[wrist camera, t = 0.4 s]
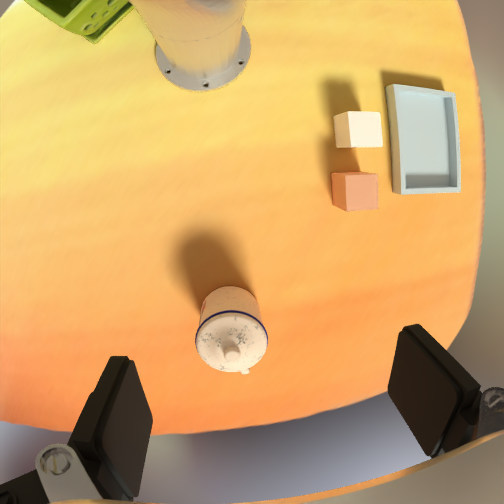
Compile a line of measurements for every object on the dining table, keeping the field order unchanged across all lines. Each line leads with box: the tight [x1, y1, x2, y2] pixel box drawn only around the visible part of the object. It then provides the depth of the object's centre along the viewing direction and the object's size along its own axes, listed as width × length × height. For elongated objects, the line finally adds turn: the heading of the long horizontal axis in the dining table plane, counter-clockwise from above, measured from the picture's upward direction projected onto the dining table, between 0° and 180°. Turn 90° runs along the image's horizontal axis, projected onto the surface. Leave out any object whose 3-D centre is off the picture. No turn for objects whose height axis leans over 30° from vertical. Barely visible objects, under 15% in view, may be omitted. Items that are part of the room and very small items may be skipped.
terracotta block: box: [331, 172, 378, 212], centre depth 40 cm, size 4×4×6 cm
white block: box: [333, 111, 383, 148], centre depth 38 cm, size 4×4×6 cm
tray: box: [385, 84, 461, 195], centre depth 40 cm, size 16×12×3 cm
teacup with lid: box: [195, 286, 268, 374], centre depth 42 cm, size 12×9×12 cm
